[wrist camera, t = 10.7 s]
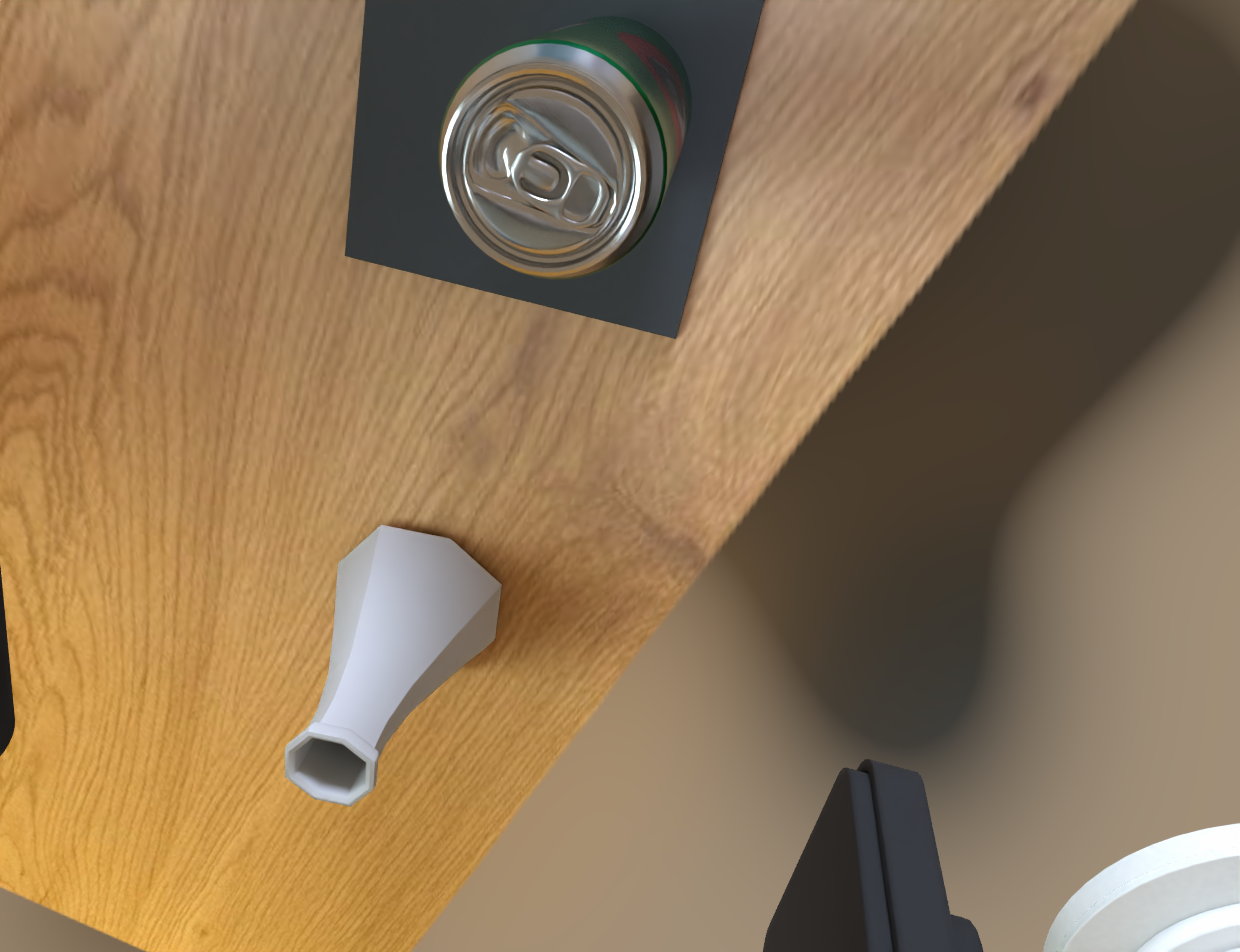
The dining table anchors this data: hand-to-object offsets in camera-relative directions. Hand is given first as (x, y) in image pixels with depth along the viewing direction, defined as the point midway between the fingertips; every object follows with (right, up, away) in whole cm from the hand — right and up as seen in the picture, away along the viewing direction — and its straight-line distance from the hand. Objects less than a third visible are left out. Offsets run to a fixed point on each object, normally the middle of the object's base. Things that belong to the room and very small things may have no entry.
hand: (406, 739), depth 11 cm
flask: (-6, -2, +30) cm, 31 cm away
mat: (0, +14, +21) cm, 25 cm away
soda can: (+2, +15, +20) cm, 25 cm away
